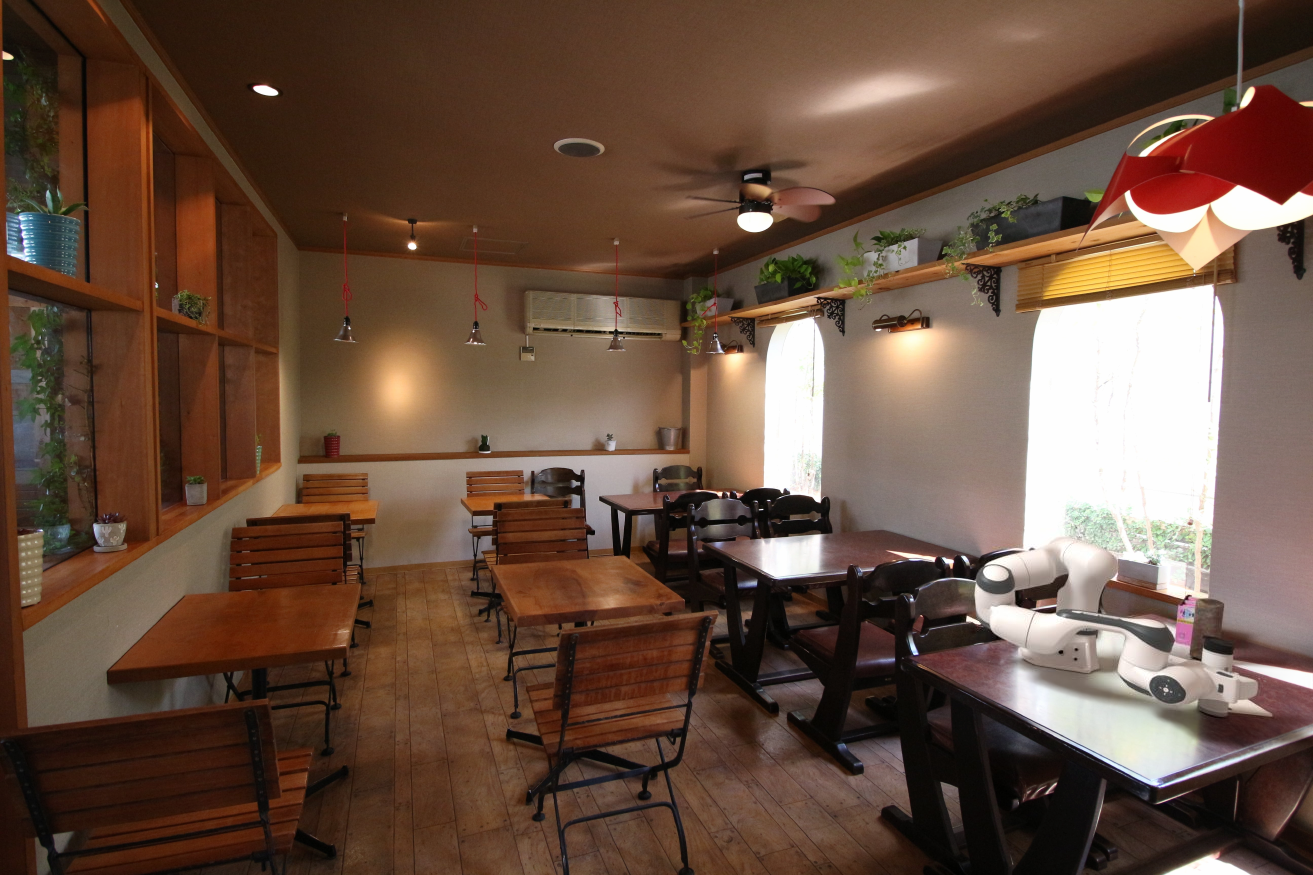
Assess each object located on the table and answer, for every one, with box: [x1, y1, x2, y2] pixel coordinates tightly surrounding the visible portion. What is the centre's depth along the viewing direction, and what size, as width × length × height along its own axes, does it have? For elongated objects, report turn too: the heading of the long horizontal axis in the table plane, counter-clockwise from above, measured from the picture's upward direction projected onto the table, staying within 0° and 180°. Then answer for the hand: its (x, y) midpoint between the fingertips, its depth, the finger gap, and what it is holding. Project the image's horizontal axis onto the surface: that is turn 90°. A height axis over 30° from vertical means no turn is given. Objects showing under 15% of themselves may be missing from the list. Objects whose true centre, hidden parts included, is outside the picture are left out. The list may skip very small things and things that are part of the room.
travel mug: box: [1196, 635, 1235, 718], centre depth 178 cm, size 6×7×20 cm
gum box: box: [1174, 594, 1211, 647], centre depth 240 cm, size 24×8×14 cm, turn 135°
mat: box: [1228, 699, 1273, 717], centre depth 186 cm, size 10×16×1 cm, turn 170°
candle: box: [1188, 597, 1225, 661], centre depth 218 cm, size 8×7×20 cm
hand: (1217, 669), depth 178 cm, fingers closed on travel mug, 6 cm apart
